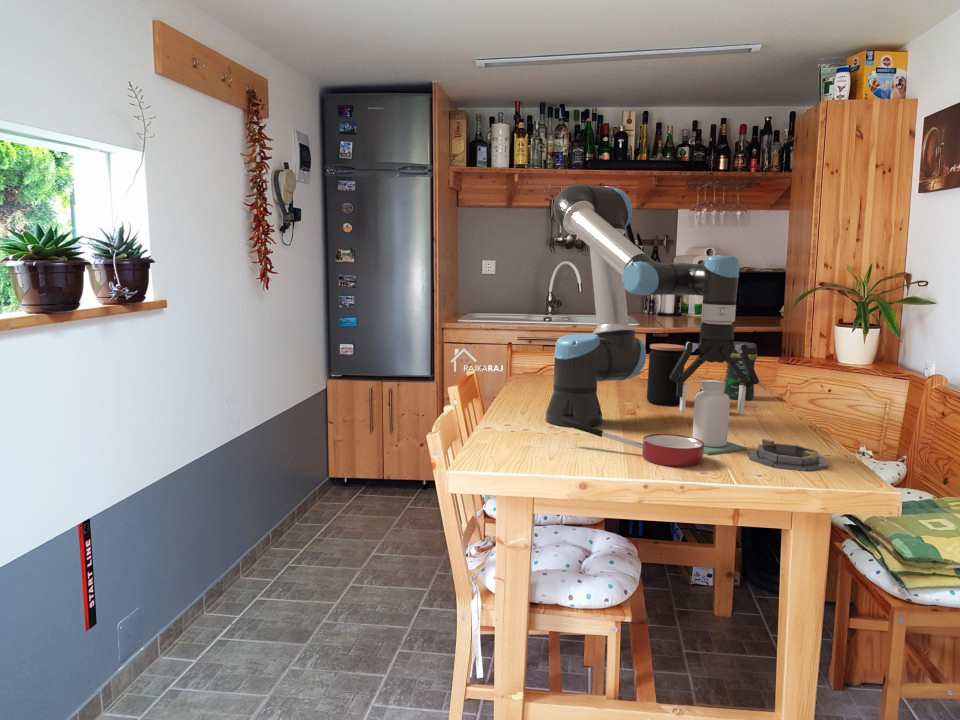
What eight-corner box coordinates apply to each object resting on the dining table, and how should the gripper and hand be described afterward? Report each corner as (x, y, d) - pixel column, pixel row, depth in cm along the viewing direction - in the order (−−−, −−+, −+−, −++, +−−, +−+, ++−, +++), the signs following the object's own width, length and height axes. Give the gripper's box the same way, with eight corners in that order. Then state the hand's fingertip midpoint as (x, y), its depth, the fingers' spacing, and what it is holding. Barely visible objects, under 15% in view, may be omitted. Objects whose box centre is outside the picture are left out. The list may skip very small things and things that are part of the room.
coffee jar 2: (723, 399, 238) (728, 342, 235) (721, 395, 246) (725, 339, 243) (755, 401, 236) (759, 343, 233) (752, 397, 243) (756, 341, 241)
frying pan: (552, 453, 165) (553, 426, 164) (565, 441, 177) (566, 415, 176) (701, 471, 154) (703, 441, 153) (704, 456, 166) (706, 428, 166)
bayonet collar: (791, 473, 154) (792, 458, 153) (733, 454, 168) (734, 440, 168) (842, 465, 161) (844, 451, 161) (783, 448, 175) (785, 435, 175)
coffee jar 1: (683, 407, 222) (687, 348, 220) (647, 405, 224) (651, 346, 222) (679, 401, 233) (683, 344, 230) (645, 399, 234) (648, 343, 232)
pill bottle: (684, 440, 177) (689, 379, 175) (711, 438, 180) (716, 378, 178) (706, 448, 170) (711, 385, 168) (734, 446, 173) (739, 383, 171)
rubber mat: (707, 454, 167) (707, 452, 167) (672, 442, 178) (672, 440, 178) (746, 450, 173) (746, 447, 172) (709, 438, 183) (710, 436, 183)
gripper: (666, 322, 168) (660, 412, 171) (777, 325, 167) (770, 417, 170) (660, 319, 176) (655, 406, 179) (767, 323, 174) (760, 410, 177)
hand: (711, 412), depth 174 cm, fingers open, 13 cm apart
